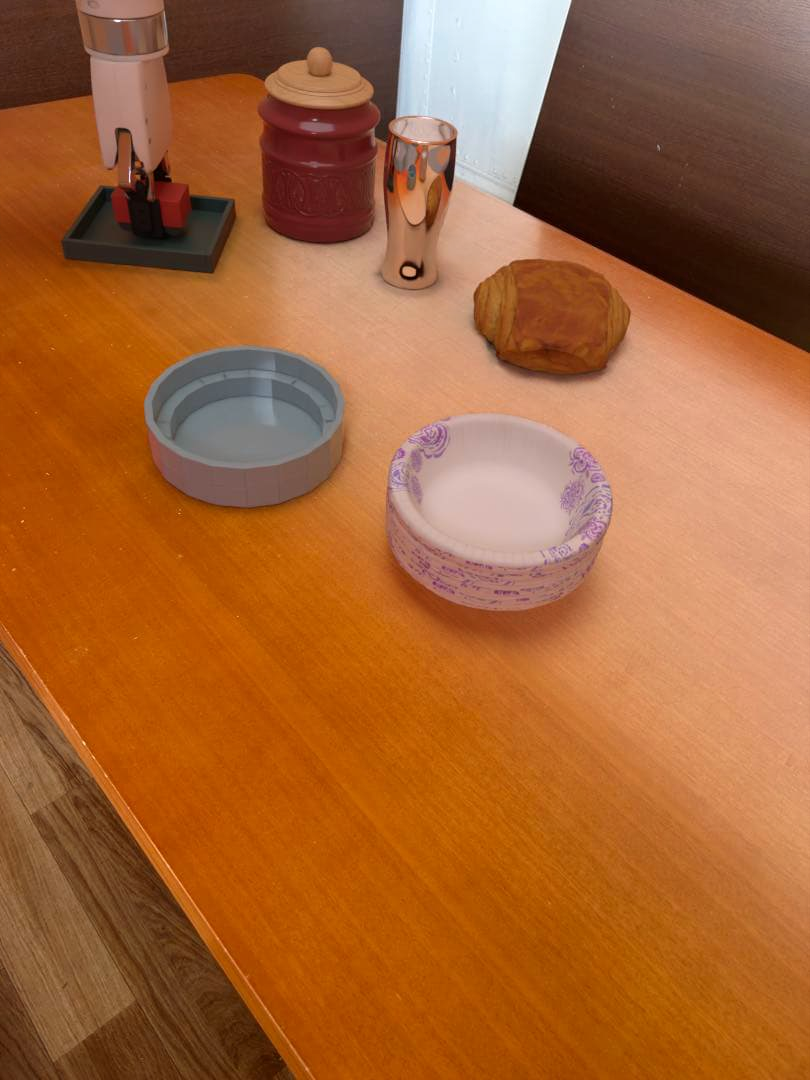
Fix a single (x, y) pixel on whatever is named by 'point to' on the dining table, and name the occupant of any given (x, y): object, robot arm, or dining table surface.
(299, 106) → the kitchen canister
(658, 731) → the dining table surface
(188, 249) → the tray
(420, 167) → the beer glass
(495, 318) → the croissant
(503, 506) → the paper bowls
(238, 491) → the bowl
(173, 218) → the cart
